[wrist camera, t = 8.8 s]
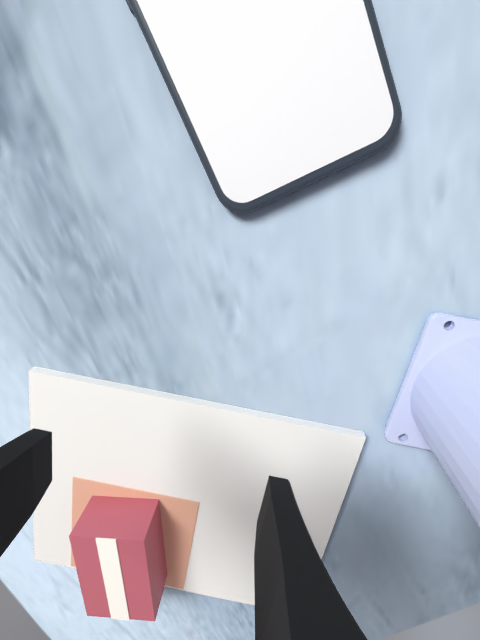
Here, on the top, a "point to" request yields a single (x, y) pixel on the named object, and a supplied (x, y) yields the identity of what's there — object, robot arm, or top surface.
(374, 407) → the top surface
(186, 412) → the mat
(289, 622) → the robot arm
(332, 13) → the smartphone
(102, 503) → the card box
